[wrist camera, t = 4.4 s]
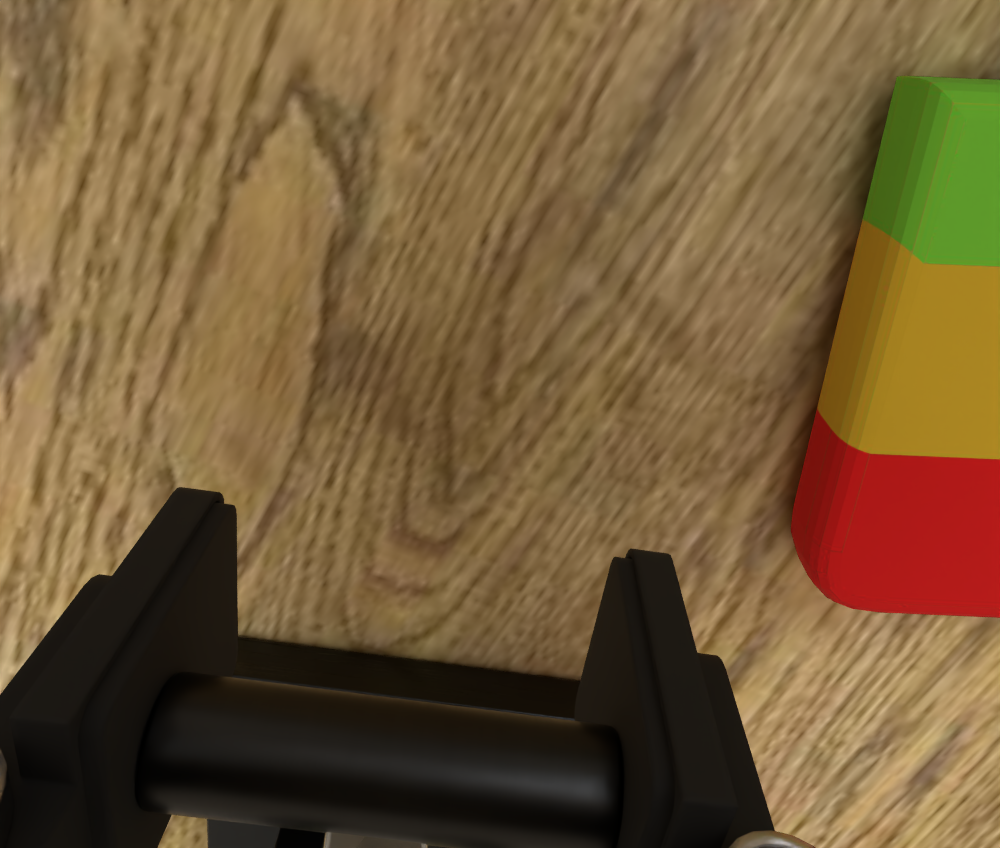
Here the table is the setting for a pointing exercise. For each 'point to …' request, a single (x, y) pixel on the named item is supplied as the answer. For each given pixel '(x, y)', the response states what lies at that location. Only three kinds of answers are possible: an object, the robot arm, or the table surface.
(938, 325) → the popsicle
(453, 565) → the table surface
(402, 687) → the bracket
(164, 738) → the lever
